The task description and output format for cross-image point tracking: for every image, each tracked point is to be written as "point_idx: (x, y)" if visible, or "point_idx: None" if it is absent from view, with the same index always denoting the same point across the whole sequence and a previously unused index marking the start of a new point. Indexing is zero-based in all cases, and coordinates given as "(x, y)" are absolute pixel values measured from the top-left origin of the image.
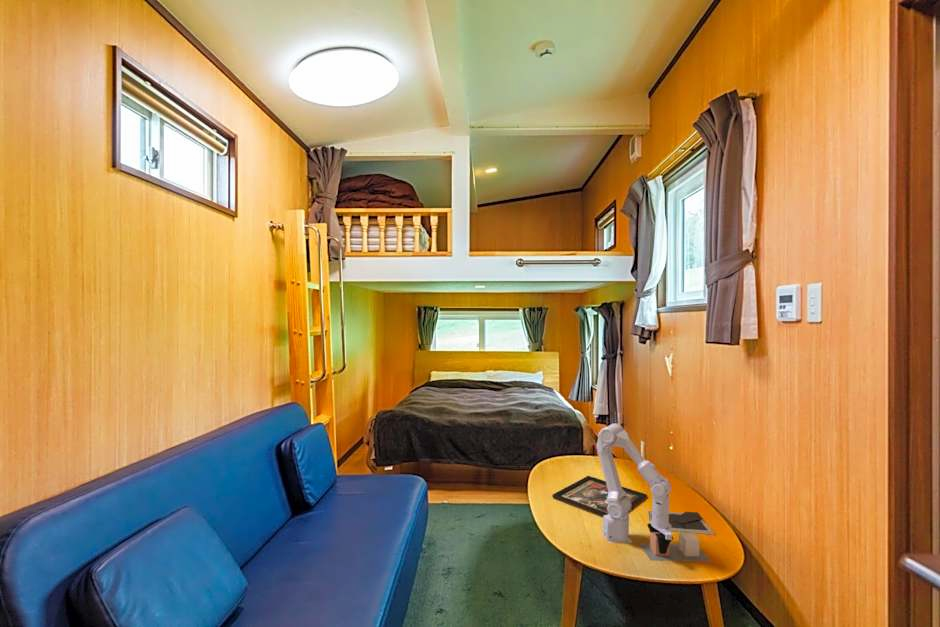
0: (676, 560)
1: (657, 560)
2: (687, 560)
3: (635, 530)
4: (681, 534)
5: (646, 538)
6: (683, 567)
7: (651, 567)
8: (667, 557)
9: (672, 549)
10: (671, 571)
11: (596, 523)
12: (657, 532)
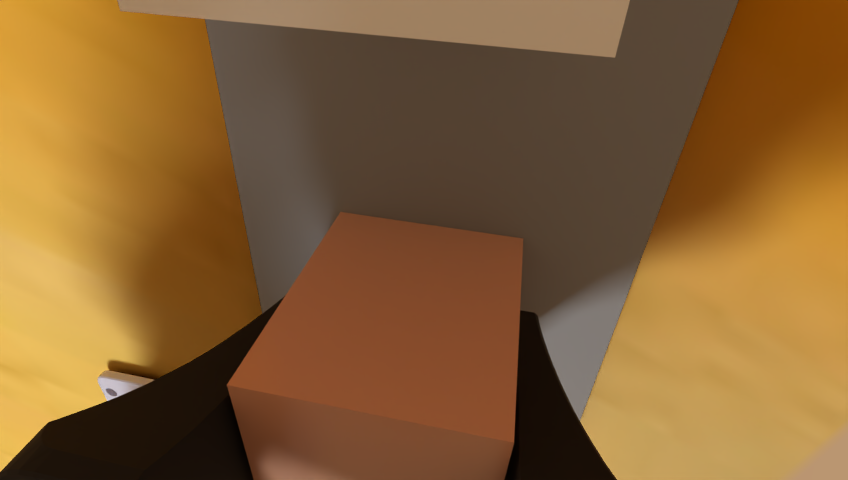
0: (650, 210)
1: (587, 394)
2: (707, 28)
3: (5, 260)
4: (238, 2)
5: (131, 241)
6: (795, 177)
7: (653, 459)
8: (553, 275)
9: (363, 95)
10: (795, 356)
11: None
12: (256, 459)
